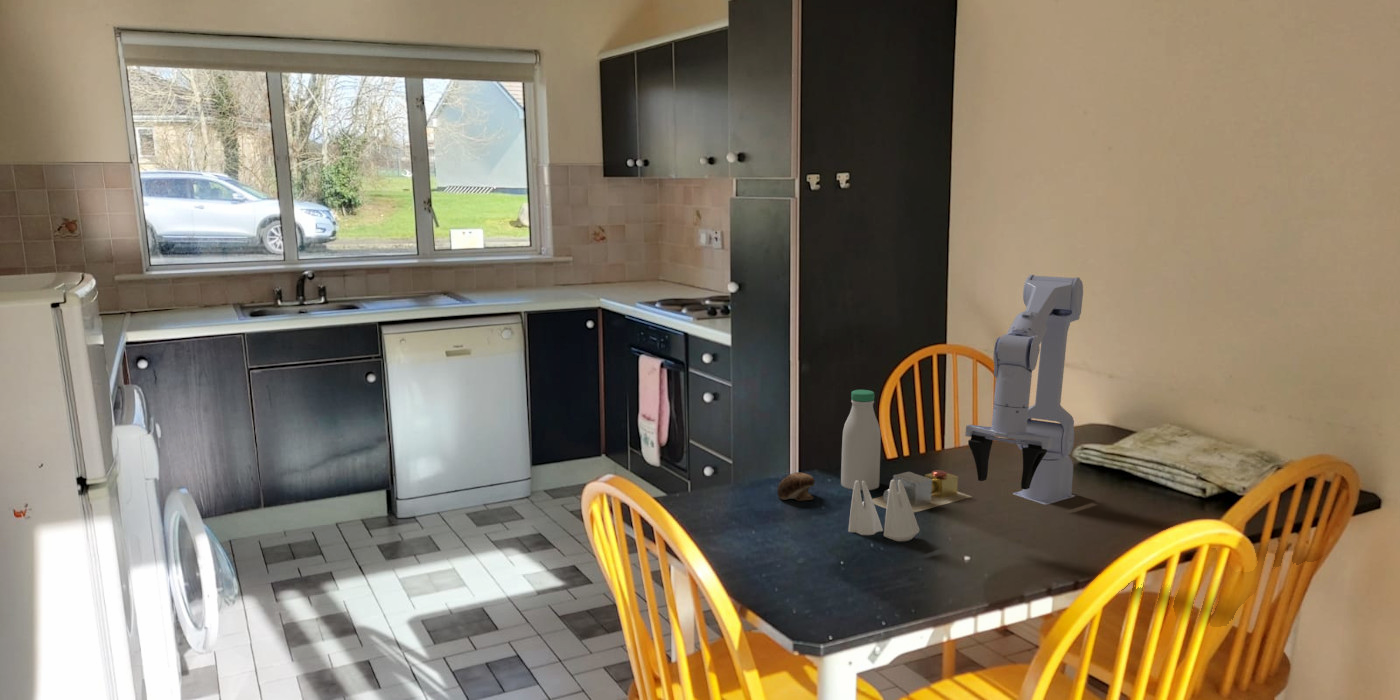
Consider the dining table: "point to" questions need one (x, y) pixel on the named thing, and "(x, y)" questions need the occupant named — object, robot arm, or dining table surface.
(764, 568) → the dining table surface
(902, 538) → the salt and pepper shakers
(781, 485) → the mushroom
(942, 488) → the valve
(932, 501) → the board
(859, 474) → the milk bottle
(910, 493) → the grey rectangular block
